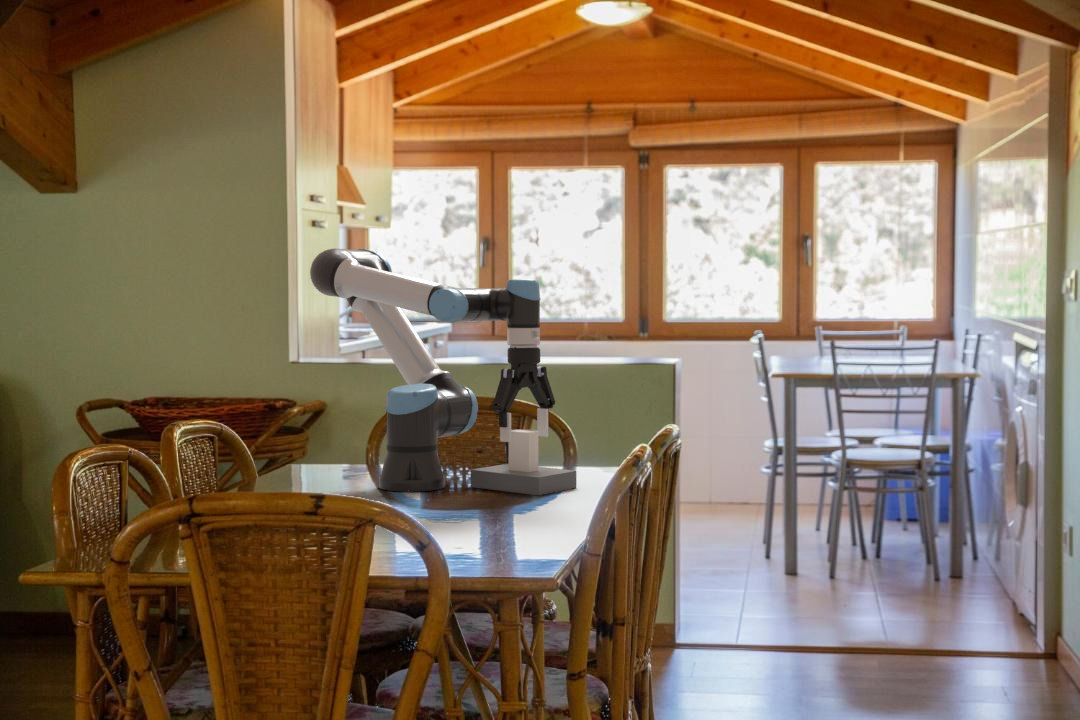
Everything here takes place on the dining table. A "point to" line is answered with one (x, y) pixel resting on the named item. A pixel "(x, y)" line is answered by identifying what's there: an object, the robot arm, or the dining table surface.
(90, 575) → the dining table surface
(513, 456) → the plug
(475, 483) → the header
